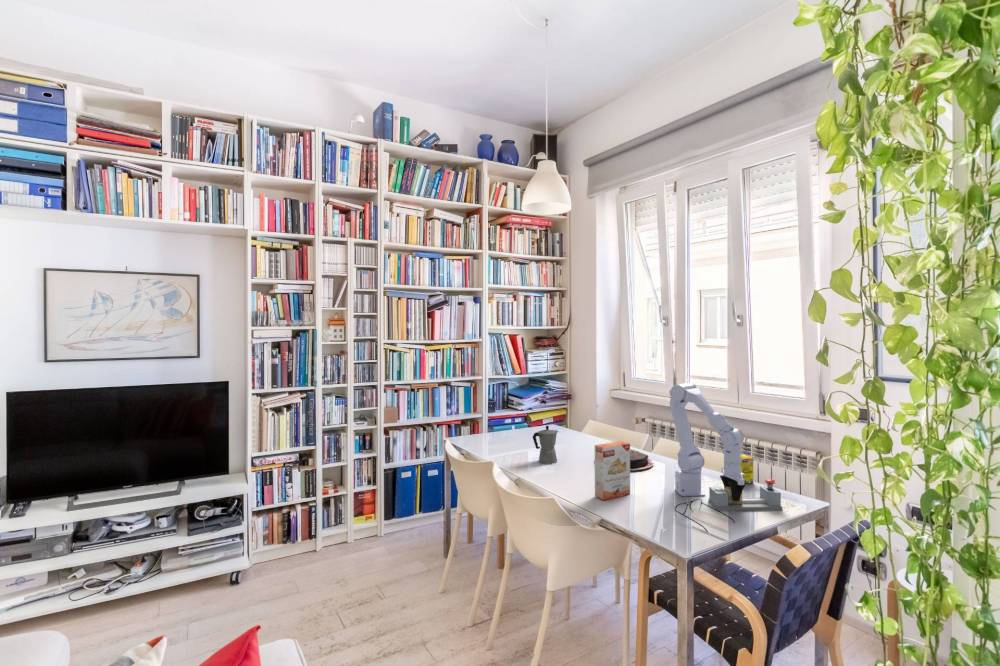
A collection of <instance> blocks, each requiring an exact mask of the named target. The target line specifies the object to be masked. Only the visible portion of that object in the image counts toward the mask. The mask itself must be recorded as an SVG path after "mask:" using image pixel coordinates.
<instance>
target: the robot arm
mask: <svg viewBox="0 0 1000 666" xmlns="http://www.w3.org/2000/svg"><path fill="white" fill-rule="evenodd" d="M669 397H670V398H669V399H670V401H669V407H670V411H671V415H672V419H673V422H674V427H675V431H676V435H677V439H678V442H679V447H680V449H679V450H678V452H677V458H678V459H677V465H678V468H679V470H677V471H675V475H674V476H675V478H674V479H675V480H674V481H675V482H674V483H675V486H674V487H675V488H674V489H675V491H676V492H677V493H678V494H679V496H681V497H689V496H690V497H693V496H696V497H700V496H701V497H704V496H706V494H705V493H704V492H703V491H702V468H703V467H704V465H705V457H704V456H703V455H702V453H701V449H699V448H698V447H697V446H696V445H695V442H694V438H693V433H692V430H691V427H690V422H689V418H688V414H687V411H686V406H687V405H688V403H692V404H694V405H695V406H696V407H697V408H698V409H699V410H700V411H701V412H702V414H703V415H705V416H706V417H707V418H708V424H709V425H710V426H711V428H713V429H714V430H715V432H716V433H717V434H718V435H719V436H720V438H719V439H720V441H721V443H722V447H723V467H721V473H722V474H721V475H719V478H720V480H721V481H722V484H723V488H724V487H730V488H731V492H732V499H733V501H739V500H740V496H741V493H742V494H743V491H744V488H745V487H746V485H747V484H745V483H744V479H743V478H742V476H744V474H743V473H741V455H742V454H741V452H742V451H741V450H742V449H741V447H742V446H741V445H742V443H743V442H744V438H745V436H744V434H743V431H742V430H740V428H735V426H733V425H732V424H731V423H730V422H729V421H728V420H727V419H726V415H725V414H722V413H721V412H716V411H715V409H713V407H712V406H711V404H710V403H709V402H708V401H707V400H706V398H705V397H704V396H703V395H702V393H701V389H700V388H699V387H698V386H697V385H696V384H695V383H693V382H687V383H680V384H674V385H673V386H672V387H671V389H670V390H669Z"/></svg>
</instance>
